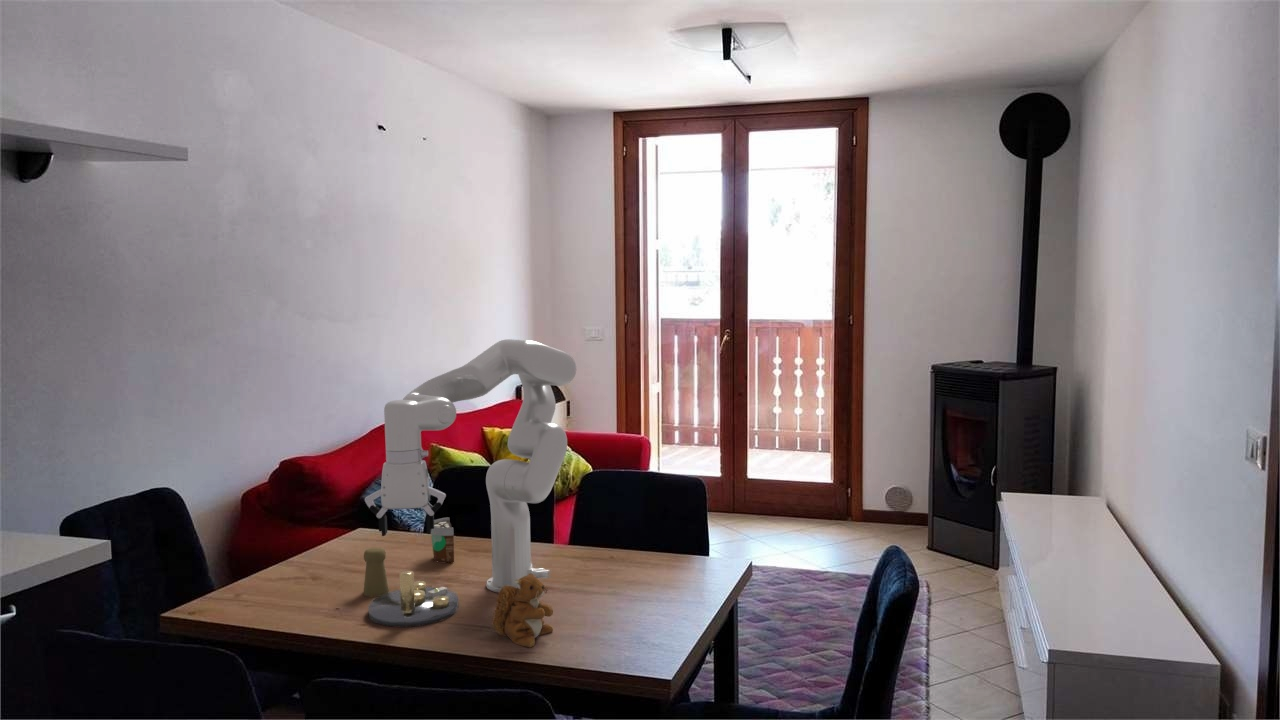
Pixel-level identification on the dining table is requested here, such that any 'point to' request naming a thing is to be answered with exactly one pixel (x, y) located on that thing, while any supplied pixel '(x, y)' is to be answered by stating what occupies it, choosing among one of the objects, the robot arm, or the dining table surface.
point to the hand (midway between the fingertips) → (407, 533)
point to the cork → (375, 572)
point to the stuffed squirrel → (522, 611)
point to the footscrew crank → (409, 592)
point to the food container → (443, 540)
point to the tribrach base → (432, 610)
